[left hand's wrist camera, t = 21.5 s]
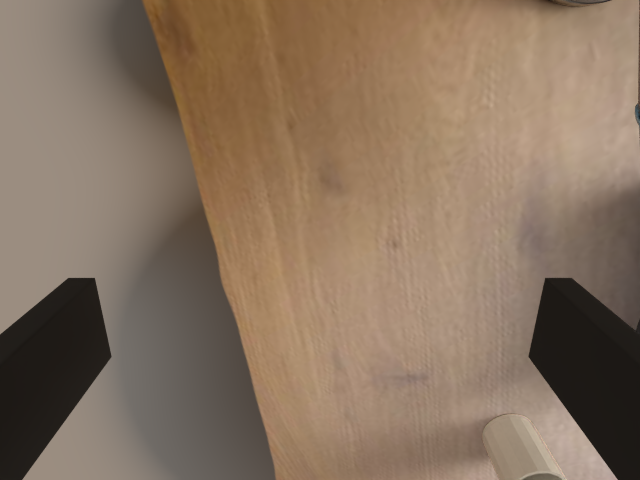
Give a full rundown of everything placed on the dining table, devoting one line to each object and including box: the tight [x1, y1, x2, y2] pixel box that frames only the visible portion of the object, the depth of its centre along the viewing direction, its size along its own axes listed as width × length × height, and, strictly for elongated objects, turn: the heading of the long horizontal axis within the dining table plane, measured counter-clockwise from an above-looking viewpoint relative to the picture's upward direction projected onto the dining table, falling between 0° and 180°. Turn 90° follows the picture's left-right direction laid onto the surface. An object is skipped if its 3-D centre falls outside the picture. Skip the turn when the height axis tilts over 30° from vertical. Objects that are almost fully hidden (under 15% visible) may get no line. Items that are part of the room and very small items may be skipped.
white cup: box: [482, 414, 567, 480], centre depth 56 cm, size 7×7×9 cm
